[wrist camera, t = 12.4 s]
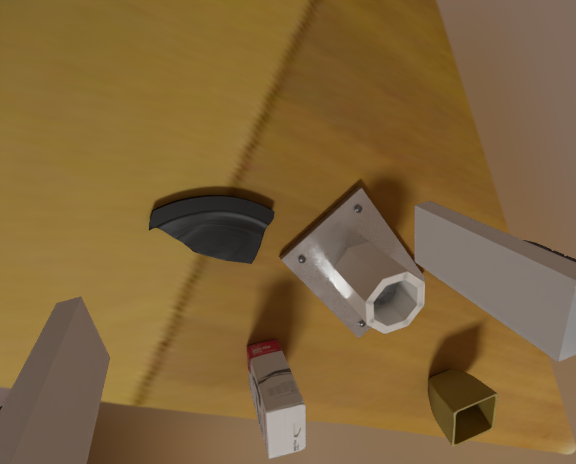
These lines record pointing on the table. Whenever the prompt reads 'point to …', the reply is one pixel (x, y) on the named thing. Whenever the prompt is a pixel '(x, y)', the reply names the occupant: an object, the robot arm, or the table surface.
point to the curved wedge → (215, 225)
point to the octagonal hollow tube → (378, 287)
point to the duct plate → (331, 246)
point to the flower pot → (461, 405)
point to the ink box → (276, 399)
